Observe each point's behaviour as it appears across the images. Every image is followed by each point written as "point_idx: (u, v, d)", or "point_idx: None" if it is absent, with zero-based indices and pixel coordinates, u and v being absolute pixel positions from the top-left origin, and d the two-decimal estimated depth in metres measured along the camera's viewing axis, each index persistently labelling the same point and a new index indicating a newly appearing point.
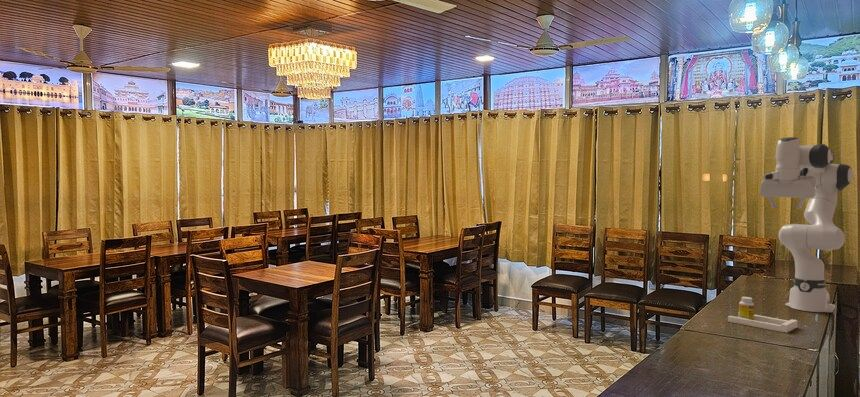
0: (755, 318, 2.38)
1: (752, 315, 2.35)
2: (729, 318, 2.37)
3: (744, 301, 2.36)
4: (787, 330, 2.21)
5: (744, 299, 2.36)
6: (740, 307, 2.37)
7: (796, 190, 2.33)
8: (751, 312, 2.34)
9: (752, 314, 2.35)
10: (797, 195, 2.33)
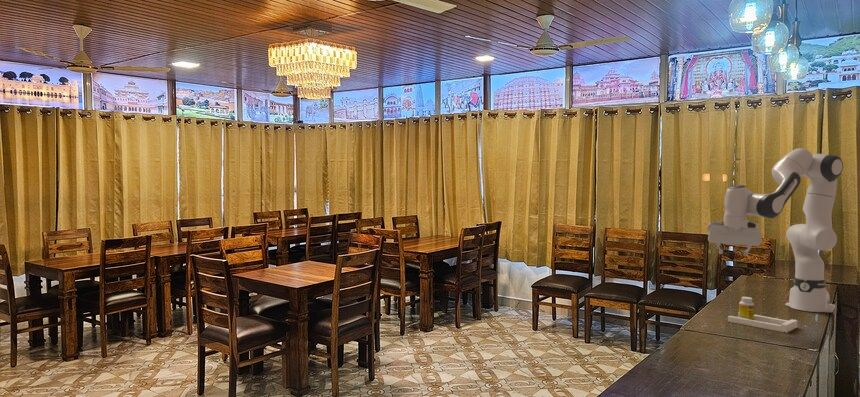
0: (755, 318, 2.38)
1: (752, 315, 2.35)
2: (729, 318, 2.37)
3: (744, 301, 2.36)
4: (787, 330, 2.21)
5: (744, 299, 2.36)
6: (740, 307, 2.37)
7: None
8: (751, 312, 2.34)
9: (752, 314, 2.35)
10: None
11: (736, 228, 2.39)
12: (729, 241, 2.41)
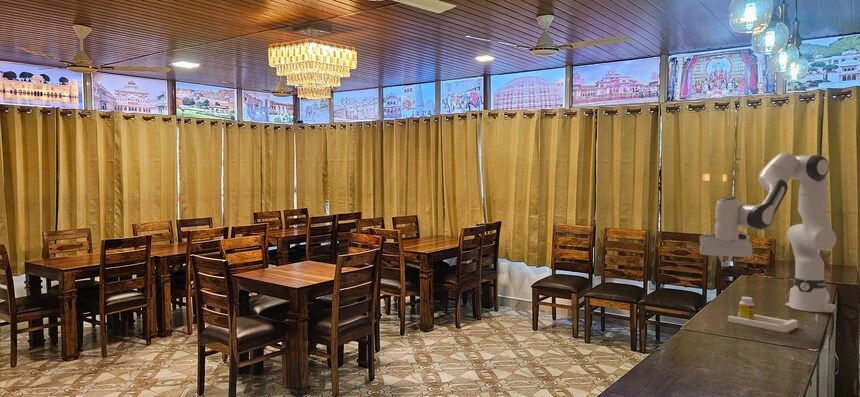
0: (755, 318, 2.38)
1: (752, 315, 2.35)
2: (729, 318, 2.37)
3: (744, 301, 2.36)
4: (787, 330, 2.21)
5: (744, 299, 2.36)
6: (740, 307, 2.37)
7: None
8: (751, 312, 2.34)
9: (752, 314, 2.35)
10: None
11: (727, 240, 2.40)
12: (721, 253, 2.42)
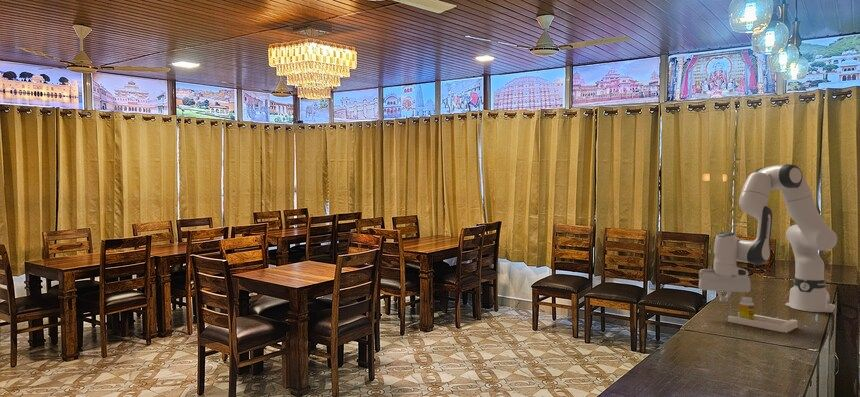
0: (755, 318, 2.38)
1: (752, 315, 2.35)
2: (729, 318, 2.37)
3: (744, 301, 2.36)
4: (787, 330, 2.21)
5: (744, 299, 2.36)
6: (740, 307, 2.37)
7: None
8: (751, 312, 2.34)
9: (752, 314, 2.35)
10: None
11: (727, 275, 2.40)
12: (721, 288, 2.42)
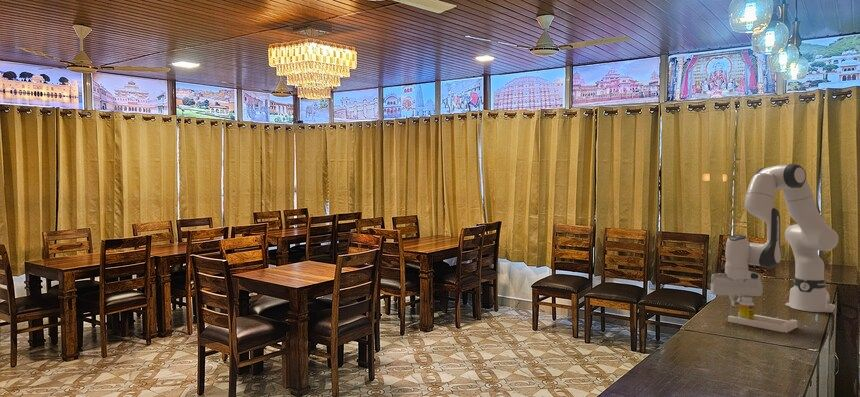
0: (755, 318, 2.38)
1: (752, 315, 2.35)
2: (729, 318, 2.37)
3: (744, 301, 2.36)
4: (787, 330, 2.21)
5: (744, 299, 2.36)
6: (740, 307, 2.37)
7: None
8: (751, 312, 2.34)
9: (752, 314, 2.35)
10: None
11: (740, 280, 2.37)
12: (733, 293, 2.39)
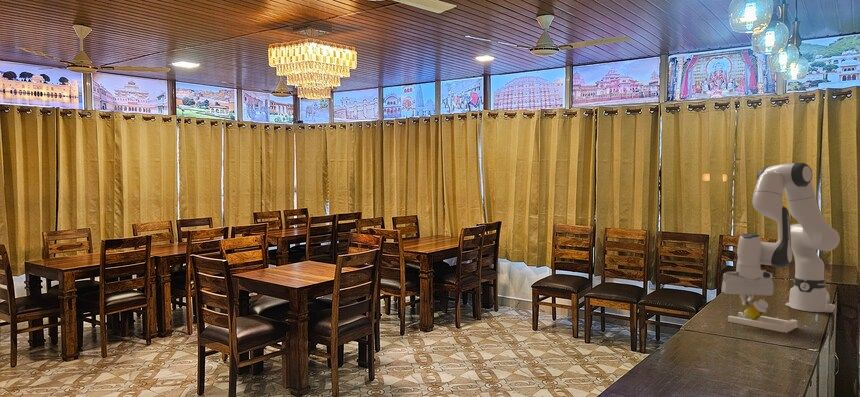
0: None
1: (757, 318, 2.33)
2: (729, 318, 2.37)
3: (759, 306, 2.30)
4: (787, 330, 2.21)
5: (760, 304, 2.30)
6: (751, 307, 2.32)
7: None
8: (758, 316, 2.32)
9: (758, 317, 2.33)
10: None
11: (753, 278, 2.32)
12: (745, 292, 2.34)
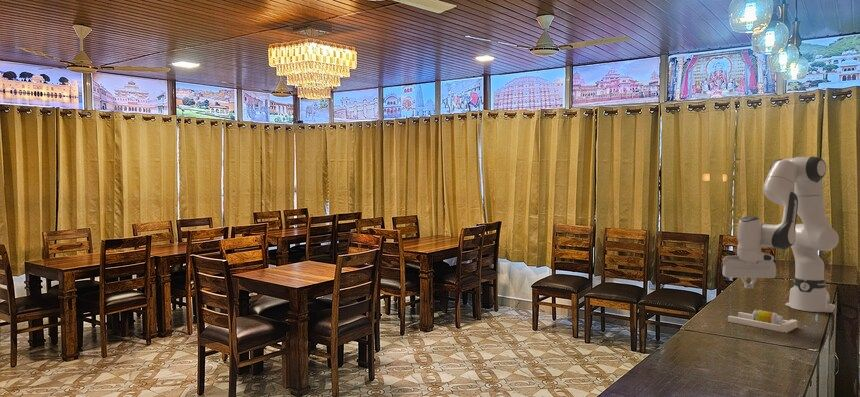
0: None
1: None
2: (729, 318, 2.37)
3: (776, 318, 2.28)
4: (787, 330, 2.21)
5: (778, 318, 2.27)
6: (769, 313, 2.30)
7: None
8: None
9: None
10: None
11: (753, 261, 2.33)
12: (746, 275, 2.35)
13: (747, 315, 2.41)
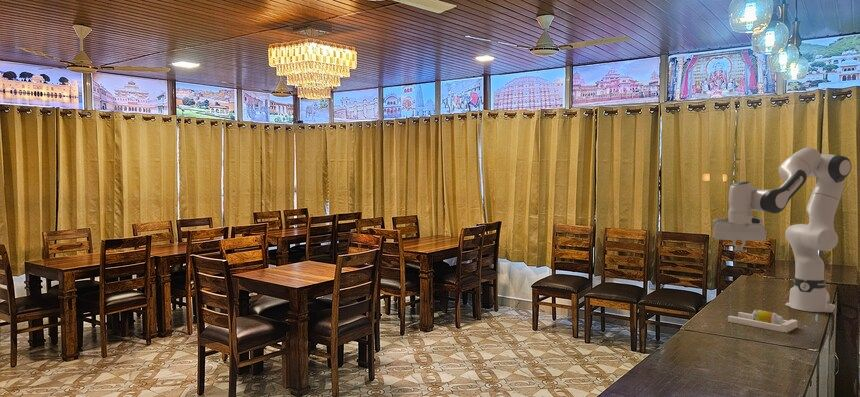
0: None
1: None
2: (729, 318, 2.37)
3: (775, 318, 2.28)
4: (787, 330, 2.21)
5: (778, 319, 2.27)
6: (768, 313, 2.30)
7: None
8: None
9: None
10: None
11: (740, 224, 2.41)
12: (734, 237, 2.43)
13: (747, 315, 2.41)
